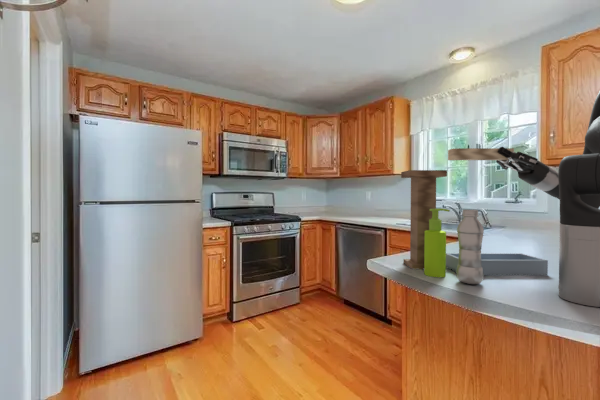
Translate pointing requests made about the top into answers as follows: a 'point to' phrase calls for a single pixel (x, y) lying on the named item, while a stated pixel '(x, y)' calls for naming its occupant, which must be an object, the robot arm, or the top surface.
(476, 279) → the plastic bottle
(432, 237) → the soap dispenser
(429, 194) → the walnut stand
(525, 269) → the slate tray
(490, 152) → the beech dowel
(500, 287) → the top surface
